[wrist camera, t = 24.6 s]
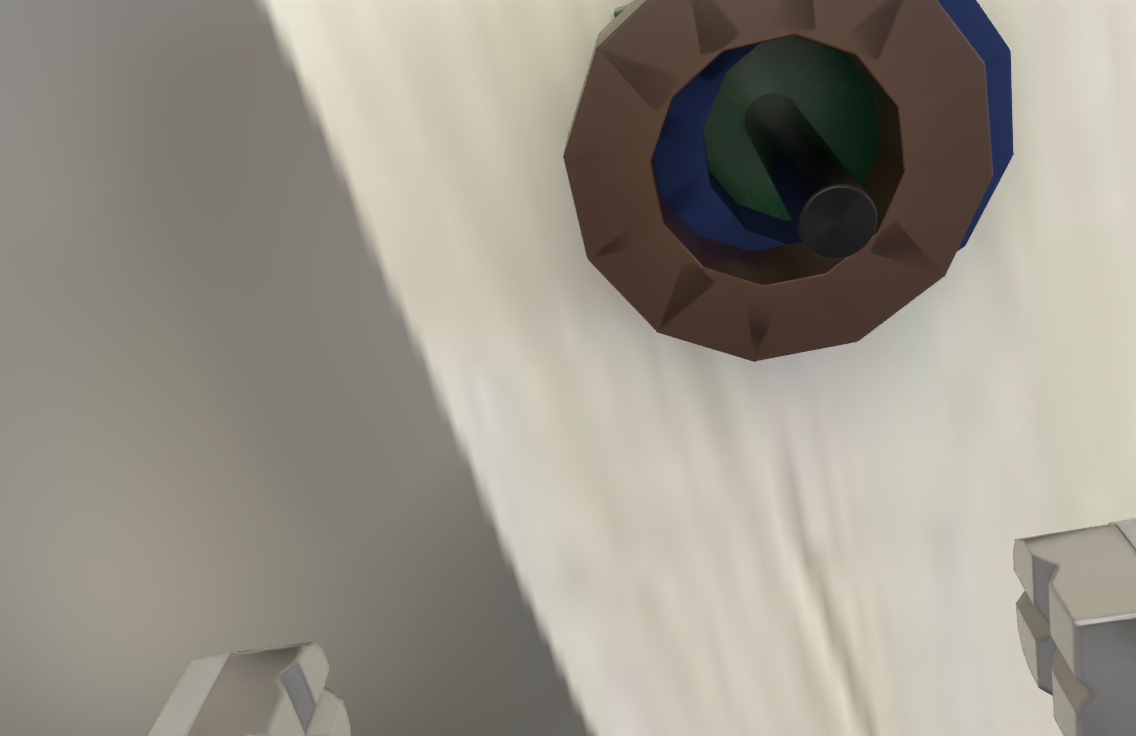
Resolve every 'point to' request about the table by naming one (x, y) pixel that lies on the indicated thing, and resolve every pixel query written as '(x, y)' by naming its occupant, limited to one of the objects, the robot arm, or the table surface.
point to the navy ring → (752, 230)
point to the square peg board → (797, 141)
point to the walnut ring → (792, 272)
